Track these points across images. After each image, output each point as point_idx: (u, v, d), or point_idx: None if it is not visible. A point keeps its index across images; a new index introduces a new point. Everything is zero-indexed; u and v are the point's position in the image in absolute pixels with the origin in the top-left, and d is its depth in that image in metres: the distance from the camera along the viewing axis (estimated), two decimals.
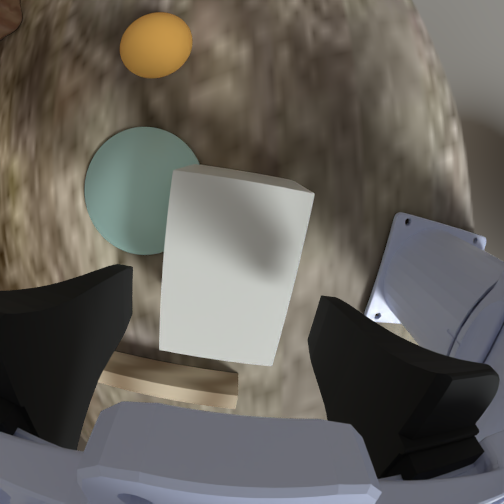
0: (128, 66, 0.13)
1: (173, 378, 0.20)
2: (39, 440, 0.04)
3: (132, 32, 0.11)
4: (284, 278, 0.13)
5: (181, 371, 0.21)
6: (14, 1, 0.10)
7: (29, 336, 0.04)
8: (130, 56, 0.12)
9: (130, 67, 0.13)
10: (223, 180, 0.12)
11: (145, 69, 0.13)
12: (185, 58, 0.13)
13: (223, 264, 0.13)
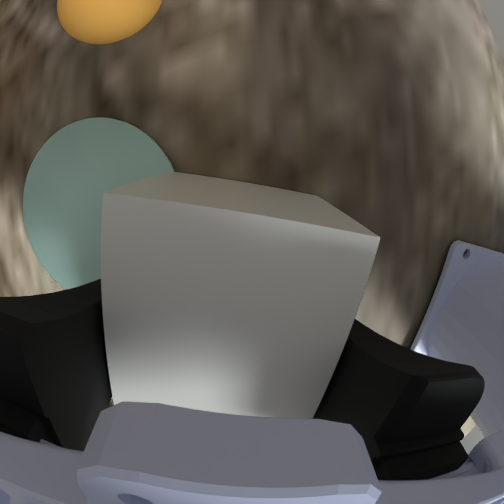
0: (65, 27, 0.06)
1: None
2: None
3: None
4: (313, 378, 0.07)
5: None
6: None
7: (54, 345, 0.04)
8: (66, 10, 0.06)
9: (68, 28, 0.06)
10: (201, 212, 0.06)
11: (86, 27, 0.06)
12: (151, 9, 0.07)
13: (208, 362, 0.07)
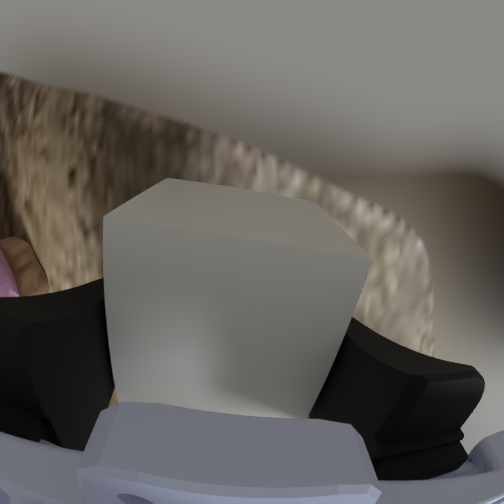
0: None
1: None
2: None
3: None
4: (306, 385, 0.08)
5: None
6: (33, 275, 0.17)
7: (54, 345, 0.04)
8: None
9: None
10: (198, 236, 0.06)
11: None
12: None
13: (207, 370, 0.07)
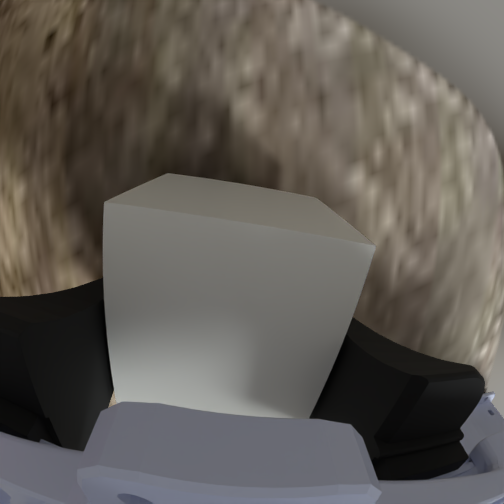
0: None
1: None
2: None
3: None
4: (309, 380, 0.07)
5: None
6: None
7: (54, 345, 0.04)
8: None
9: None
10: (200, 221, 0.06)
11: None
12: None
13: (208, 363, 0.07)
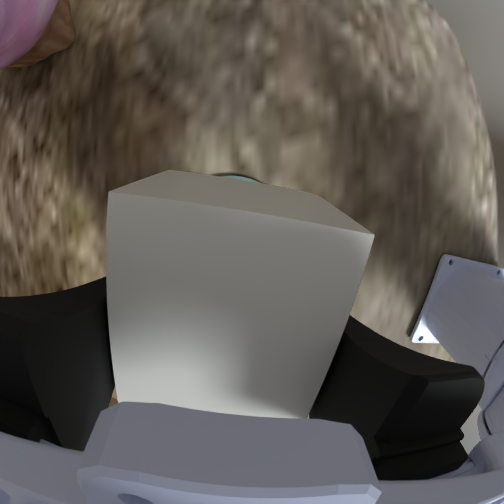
0: None
1: None
2: None
3: None
4: (310, 371, 0.08)
5: None
6: (68, 14, 0.12)
7: (54, 345, 0.04)
8: None
9: None
10: (202, 210, 0.06)
11: None
12: None
13: (209, 354, 0.07)
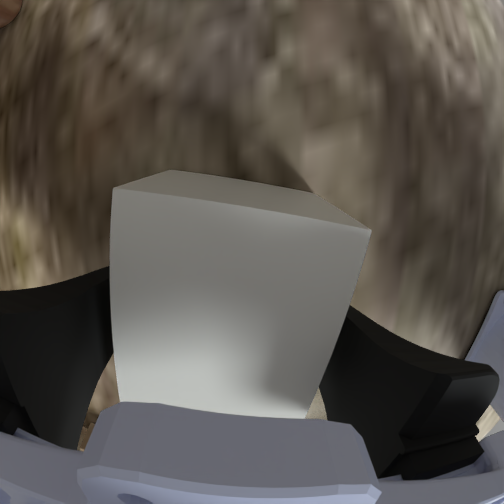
0: None
1: None
2: (39, 440, 0.04)
3: None
4: (310, 365, 0.08)
5: None
6: None
7: (29, 336, 0.04)
8: None
9: None
10: (204, 206, 0.06)
11: None
12: None
13: (210, 348, 0.07)
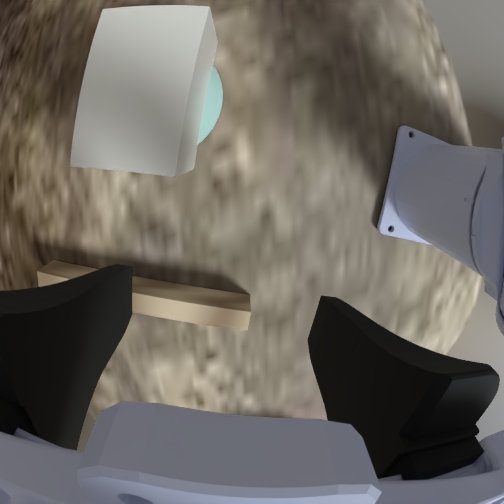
0: None
1: (181, 295, 0.20)
2: (39, 440, 0.04)
3: None
4: (182, 73, 0.12)
5: (189, 290, 0.21)
6: None
7: (29, 336, 0.04)
8: None
9: None
10: (137, 8, 0.11)
11: None
12: None
13: (130, 67, 0.12)
